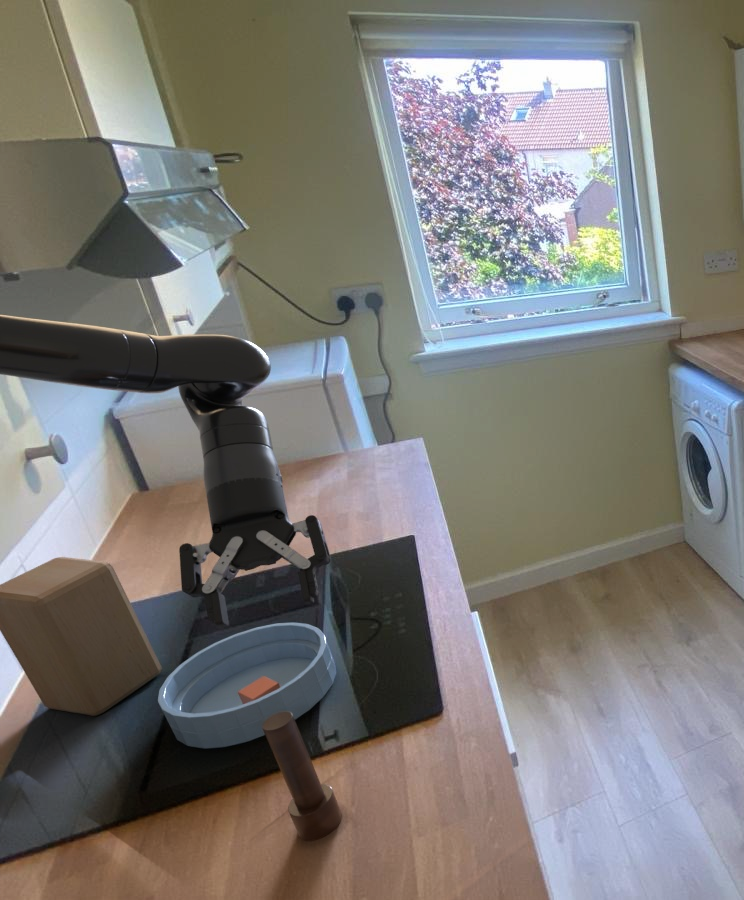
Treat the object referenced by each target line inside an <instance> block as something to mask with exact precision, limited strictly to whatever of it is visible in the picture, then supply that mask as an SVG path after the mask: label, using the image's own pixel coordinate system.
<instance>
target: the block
mask: <svg viewBox="0 0 744 900" xmlns="http://www.w3.org/2000/svg"><path fill="white" fill-rule="evenodd" d="M279 688H280V685H279V683H277V682H275V681H273V680H271V679H269V678H267V677H265V676H263V677H261V678H260V679H258V680H256V681H255V682H253V683H251V684H250V685H248V686H246V687H245V688H243V689H242V690H240V691H238V694H239V696H240V699H241V701H242V703H243V704H246V703H249V702H251V701H254V700H257V699H259V698H261V697H263V696H265V695H267V694H269V693H271V692H273V691H275V690H277V689H279Z"/></svg>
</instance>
